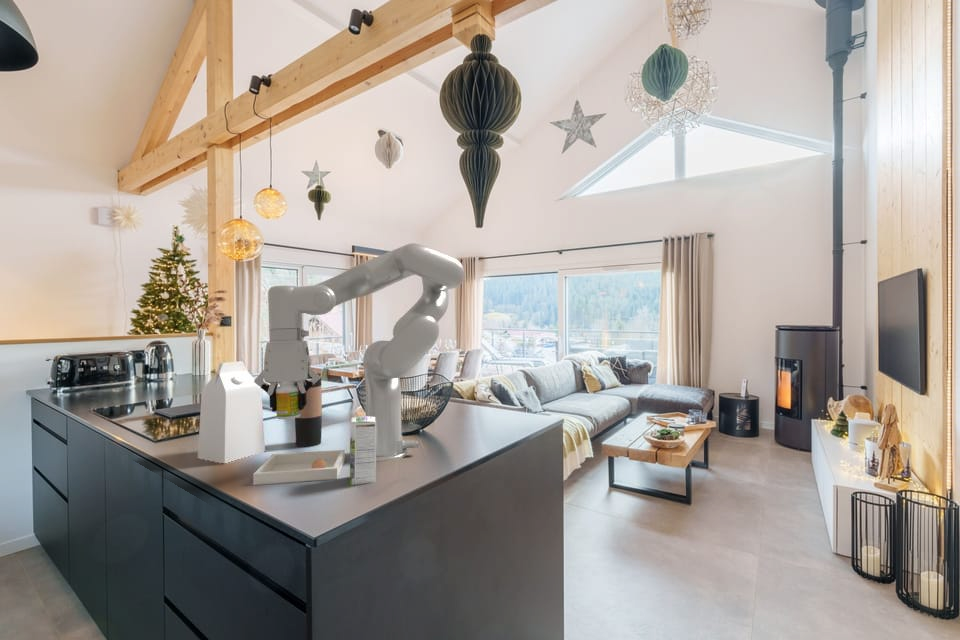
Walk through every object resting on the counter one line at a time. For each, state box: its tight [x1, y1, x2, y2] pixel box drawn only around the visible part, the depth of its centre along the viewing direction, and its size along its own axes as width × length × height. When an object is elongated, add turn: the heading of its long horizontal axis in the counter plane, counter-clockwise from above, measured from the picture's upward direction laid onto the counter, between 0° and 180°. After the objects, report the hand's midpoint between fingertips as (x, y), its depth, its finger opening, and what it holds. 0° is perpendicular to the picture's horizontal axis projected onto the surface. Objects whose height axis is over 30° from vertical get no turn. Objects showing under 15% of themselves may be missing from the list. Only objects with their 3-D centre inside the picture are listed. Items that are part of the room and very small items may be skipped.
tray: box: [252, 449, 346, 486], centre depth 106 cm, size 18×15×3 cm
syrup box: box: [349, 415, 377, 486], centre depth 100 cm, size 6×6×14 cm
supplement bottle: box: [276, 381, 301, 420], centre depth 107 cm, size 5×5×10 cm
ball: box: [312, 459, 326, 469], centre depth 105 cm, size 3×3×3 cm
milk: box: [197, 360, 266, 464], centre depth 122 cm, size 12×12×26 cm
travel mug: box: [294, 376, 323, 448], centre depth 132 cm, size 8×8×20 cm
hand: (288, 408), depth 107 cm, fingers closed on supplement bottle, 5 cm apart
